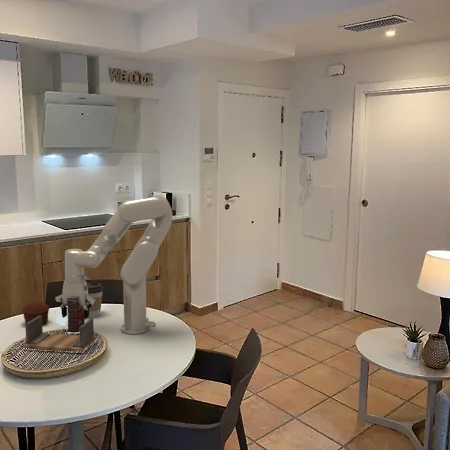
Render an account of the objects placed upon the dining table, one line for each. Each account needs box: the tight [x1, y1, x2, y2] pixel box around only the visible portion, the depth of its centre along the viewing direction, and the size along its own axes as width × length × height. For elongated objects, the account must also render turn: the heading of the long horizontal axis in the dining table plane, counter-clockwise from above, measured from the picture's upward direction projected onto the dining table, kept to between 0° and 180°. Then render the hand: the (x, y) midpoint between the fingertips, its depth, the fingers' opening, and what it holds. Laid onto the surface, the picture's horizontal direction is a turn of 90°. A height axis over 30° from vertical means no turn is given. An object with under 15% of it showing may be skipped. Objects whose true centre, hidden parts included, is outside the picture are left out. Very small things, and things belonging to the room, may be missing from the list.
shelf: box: [23, 316, 98, 351], centre depth 186 cm, size 24×13×10 cm, turn 82°
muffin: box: [21, 300, 50, 327], centre depth 211 cm, size 12×11×10 cm
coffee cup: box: [84, 282, 105, 319], centre depth 221 cm, size 11×11×15 cm
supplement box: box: [66, 297, 86, 333], centre depth 202 cm, size 9×5×16 cm, turn 179°
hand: (75, 317), depth 202 cm, fingers open, 9 cm apart
